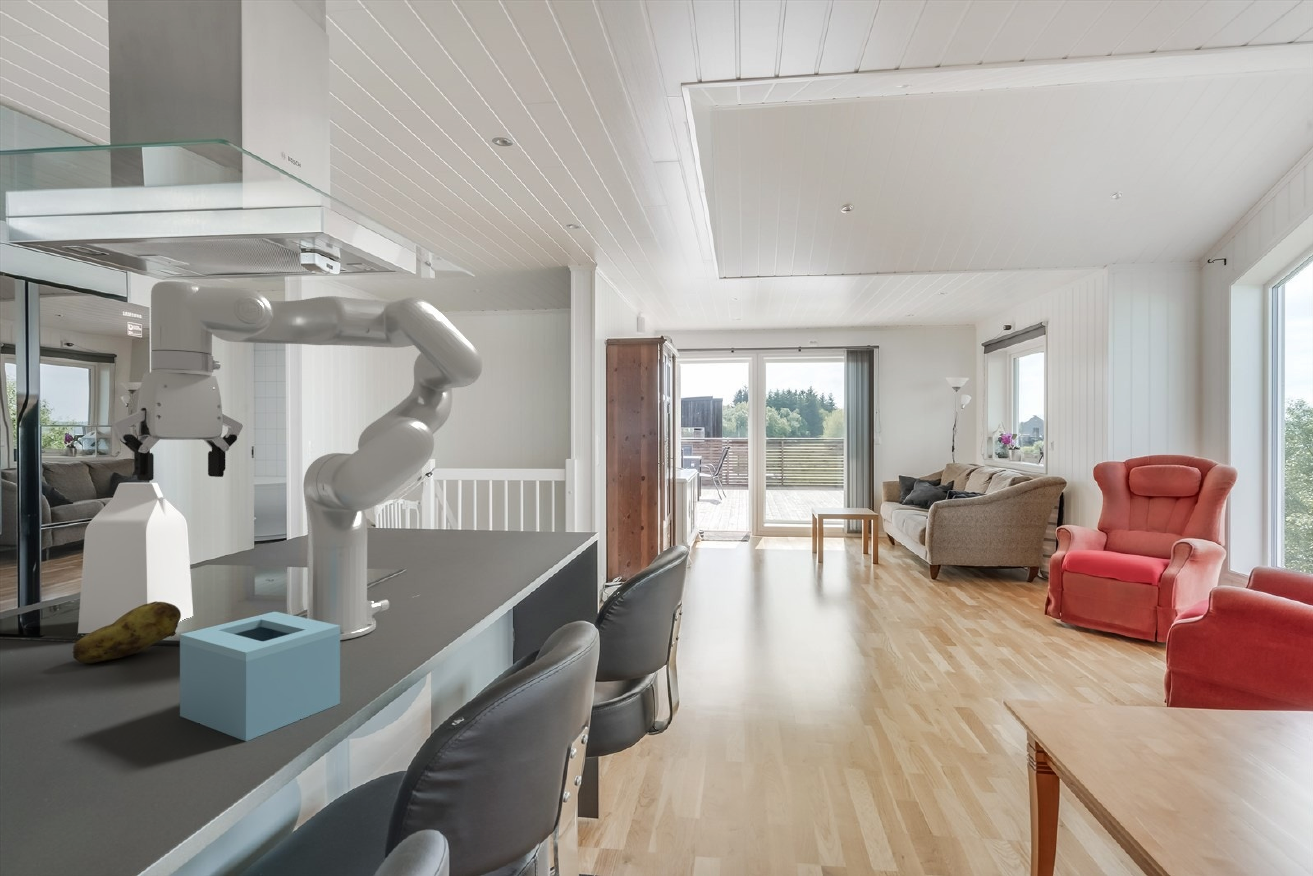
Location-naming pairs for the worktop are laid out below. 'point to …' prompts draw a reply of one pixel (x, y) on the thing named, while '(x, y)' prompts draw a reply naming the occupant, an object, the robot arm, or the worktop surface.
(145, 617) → the potato
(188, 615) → the milk
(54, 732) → the worktop surface
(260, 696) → the box
